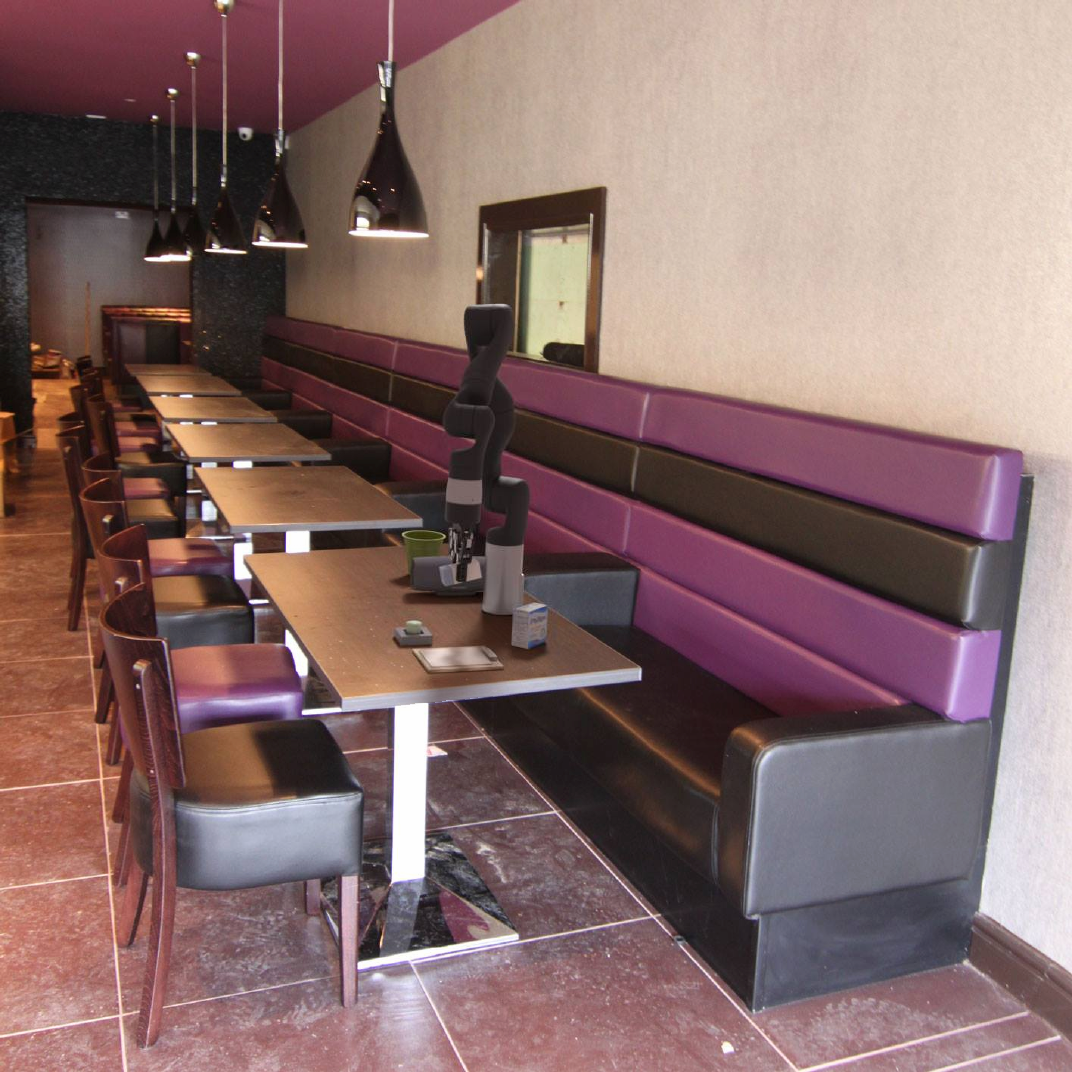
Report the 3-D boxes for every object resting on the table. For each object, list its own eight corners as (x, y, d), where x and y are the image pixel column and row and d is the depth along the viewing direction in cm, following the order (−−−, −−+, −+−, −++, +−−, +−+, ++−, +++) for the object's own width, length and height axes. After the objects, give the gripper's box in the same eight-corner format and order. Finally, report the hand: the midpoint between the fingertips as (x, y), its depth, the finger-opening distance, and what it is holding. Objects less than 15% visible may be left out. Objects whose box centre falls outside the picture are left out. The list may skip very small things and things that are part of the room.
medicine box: (527, 650, 246) (530, 612, 244) (510, 645, 248) (512, 608, 246) (546, 642, 253) (548, 605, 251) (529, 638, 255) (531, 601, 253)
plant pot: (394, 577, 302) (395, 536, 299) (408, 568, 313) (410, 528, 311) (436, 582, 299) (438, 541, 297) (449, 572, 311) (451, 533, 308)
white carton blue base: (477, 573, 241) (474, 558, 240) (481, 577, 238) (479, 562, 237) (441, 582, 239) (439, 566, 238) (445, 586, 236) (442, 570, 235)
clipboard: (484, 648, 245) (484, 642, 245) (503, 669, 232) (503, 662, 232) (412, 651, 239) (412, 645, 239) (428, 672, 227) (428, 666, 226)
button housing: (424, 635, 252) (425, 626, 251) (432, 644, 245) (432, 635, 245) (394, 636, 250) (394, 627, 249) (401, 645, 243) (401, 636, 243)
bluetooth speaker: (493, 588, 297) (495, 552, 295) (502, 598, 288) (504, 560, 286) (408, 589, 290) (410, 552, 288) (414, 599, 282) (416, 560, 280)
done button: (419, 631, 249) (419, 620, 249) (422, 636, 246) (423, 624, 246) (404, 632, 248) (404, 621, 248) (407, 636, 245) (408, 625, 245)
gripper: (490, 505, 230) (484, 587, 233) (472, 494, 243) (467, 572, 246) (454, 504, 227) (449, 587, 230) (438, 493, 240) (433, 572, 243)
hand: (458, 579), depth 238 cm, fingers closed on white carton blue base, 3 cm apart
